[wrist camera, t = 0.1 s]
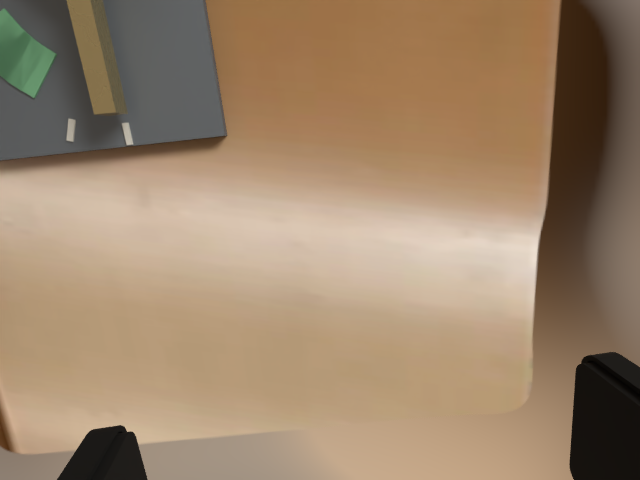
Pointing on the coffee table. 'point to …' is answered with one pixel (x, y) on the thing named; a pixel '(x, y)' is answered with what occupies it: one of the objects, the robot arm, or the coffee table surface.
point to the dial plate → (134, 70)
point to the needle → (97, 56)
